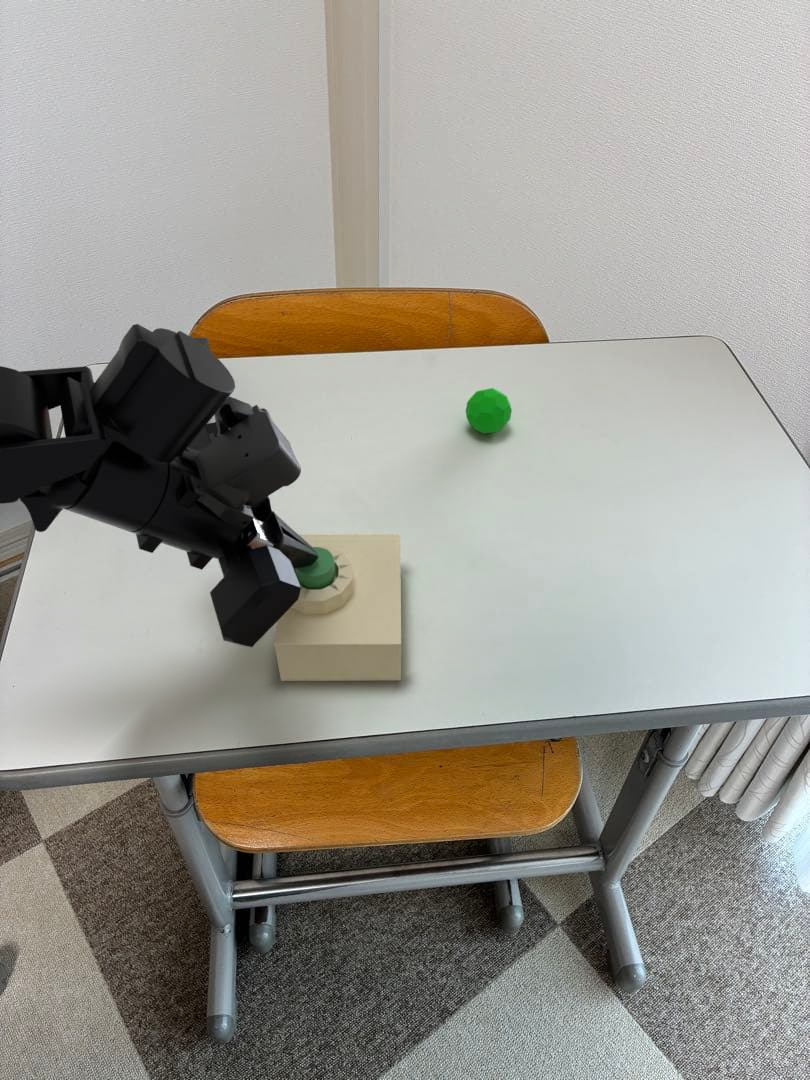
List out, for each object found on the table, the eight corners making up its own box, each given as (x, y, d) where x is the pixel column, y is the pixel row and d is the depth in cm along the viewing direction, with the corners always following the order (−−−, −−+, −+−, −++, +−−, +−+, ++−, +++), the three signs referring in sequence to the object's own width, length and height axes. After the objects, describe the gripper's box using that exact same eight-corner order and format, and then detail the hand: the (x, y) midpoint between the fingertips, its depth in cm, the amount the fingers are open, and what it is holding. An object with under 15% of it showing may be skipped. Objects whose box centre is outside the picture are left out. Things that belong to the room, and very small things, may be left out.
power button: (295, 590, 65) (293, 576, 63) (298, 560, 67) (296, 546, 66) (334, 589, 65) (333, 576, 63) (336, 560, 67) (335, 546, 66)
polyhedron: (475, 446, 87) (478, 411, 84) (457, 419, 91) (460, 385, 87) (516, 436, 89) (521, 401, 85) (497, 410, 92) (501, 376, 88)
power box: (280, 681, 66) (271, 630, 61) (292, 572, 75) (285, 519, 70) (400, 680, 67) (401, 630, 61) (399, 572, 75) (400, 519, 70)
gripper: (250, 499, 45) (425, 574, 56) (186, 329, 57) (341, 418, 67) (140, 624, 48) (324, 672, 59) (102, 440, 60) (261, 508, 71)
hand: (314, 558), depth 64 cm, fingers closed
